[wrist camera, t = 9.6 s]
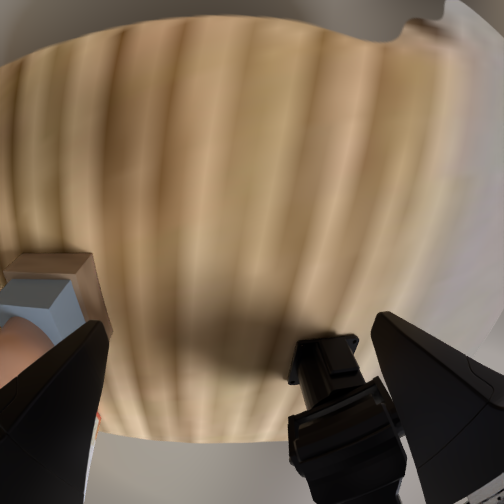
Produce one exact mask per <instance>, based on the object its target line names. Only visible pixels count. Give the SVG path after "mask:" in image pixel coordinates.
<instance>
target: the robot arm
mask: <svg viewBox="0 0 504 504" xmlns="http://www.w3.org/2000/svg"><path fill="white" fill-rule="evenodd" d="M371 339H372V342H373V345H374V348H375V352H376V355H377V358H378V362H379V365H380V368H381V372H382V374H383V377H384V380H385V382H386V385H387V387H388V390H389V392H390V395H391V397H392V399H391V397H390V395H389V394H388V392H387V390H386V388H385V387H384V385H383V383H382V382H381V380H380V378H379V376H377V377H375V378H373V380H371V381H369V382H367V383H366V382H365V380H364V378H363V376H362V374H361V372H360V369H359V368H360V367H359V365H358V363H357V361H356V359H355V357H354V352H355V350H356V348H357V345H358V343H359V338H358V337H357V336H346V337H336V338H325V339H313V340H301V341H298V342H297V344H296V347H295V351H294V356H293V360H292V364H291V368H290V372H289V376H288V380H287V381H288V384H289V385H298V384H300V387H301V390H302V394H303V398H304V401H305V405H306V408H307V411H304V412H302V413H299V414H297V415H291V416H289V417H288V441H289V462H290V464H291V465H293V466H295V468H296V470H297V472H298V473H299V474H300V475H301V476H302V477H305V478H306V480H307V482H308V485H309V488H310V492H311V495H312V498H313V501H314V502H315V503H317V504H402V502H401V499H400V496H399V494H398V492H399V489H400V486H401V482H402V478H403V477H404V475H405V470H406V465H407V464H406V462H407V455H406V453H405V450H404V449H403V446H402V443H401V441H400V438H401V437H403V436H406V438H407V441H408V444H409V447H410V450H411V453H412V457H413V459H414V463H415V466H416V469H417V473H418V476H419V480H420V483H421V487H422V490H423V494H424V497H425V501H426V504H454V503H455V502H457V501H459V500H461V499H463V498H465V497H467V498H468V501H467V502H465V503H464V504H504V375H502V374H499V373H498V372H496V371H494V370H492V369H490V368H488V367H486V366H484V365H482V364H481V363H478V362H477V361H475V360H473V359H472V358H470V357H468V356H466V355H465V354H463V353H461V352H460V351H458V350H456V349H454V348H453V347H451V346H449V345H448V344H446V343H444V342H442V341H441V340H439V339H437V338H435V337H434V336H432V335H430V334H428V333H427V332H425V331H423V330H421V329H420V328H418V327H416V326H414V325H413V324H411V323H409V322H407V321H406V320H404V319H402V318H400V317H398V316H397V315H395V314H393V313H391V312H389V311H385V312H379V313H378V314H377V315H376V318H375V321H374V324H373V326H372V329H371ZM301 345H302V346H301ZM108 350H109V339H108V336H107V333H106V330H105V327H104V324H103V322H102V321H100V320H89V321H87V322H86V323H84V324H83V325H82V326H80V327H79V328H78V329H76V330H75V331H74V332H72V333H71V334H70V335H68V336H67V337H66V338H64V339H63V340H62V341H60V342H59V343H58V344H57V345H55V346H54V347H53V348H51V349H50V350H49V351H47V352H46V353H45V354H44V355H42V356H41V357H40V358H38V359H37V360H36V361H35V362H33V363H32V364H31V365H30V366H28V367H27V368H26V369H25V370H23V371H22V372H21V373H20V374H18V377H17V376H16V377H15V378H13V379H12V380H11V381H10V382H8V383H7V384H6V385H5V386H3V387H2V388H1V389H0V504H83V503H84V490H85V481H86V473H87V465H88V459H89V452H90V446H91V440H92V435H93V429H94V424H95V419H96V415H97V410H98V406H99V401H100V397H101V393H102V388H103V383H104V376H105V369H106V362H107V356H108ZM392 400H393V401H392Z"/></svg>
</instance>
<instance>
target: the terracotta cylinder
mask: <svg viewBox="0 0 504 504" xmlns="http://www.w3.org/2000/svg"><path fill="white" fill-rule="evenodd" d="M53 347H54V344H53V343H52V341H51V340H50V338H49V337H48V336H47V335H46V334H45V333H44V332H43V331H42V330H41V329H40V328H39V327H38V326H36V325H35V324H34V323H32V322H31V321H29V320H27V319H25V318H22V317H17V316H14V317H11V318H9V319H8V321H7V322H6V323H5V324H4V326H3V327H2V328H1V330H0V389H1V388H2V387H3V386H5V385H6V384H7V383H8V382H10V381H11V380H12V379H13V378H15V377H16V376H17V377H18V374H20V373H21V372H22V371H23V370H25V369H26V368H27V367H28V366H30V365H31V364H32V363H33V362H35V361H36V360H37V359H38V358H40V357H41V356H42V355H44V354H45V353H46V352H47V351H49V350H50V349H51V348H53Z"/></svg>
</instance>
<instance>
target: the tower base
mask: <svg viewBox="0 0 504 504" xmlns="http://www.w3.org/2000/svg"><path fill="white" fill-rule="evenodd" d="M3 273H4V276H5V279H6V282H7V284H8V283H9V281H10V280H11V279H50V280H71V282H72V286H73V289H74V292H75V295H76V298H77V300H78V303H79V306H80V309H81V312H82V314H83V317H84V320H85V322H87V321H89V320H100V321H102V322H103V324H104V327H105V330H106V333H107V336H108V339H109V340H110V338H111V335H112V333H113V330H112V326H111V323H110V320H109V317H108V313H107V310H106V307H105V303H104V299H103V296H102V292H101V288H100V284H99V280H98V276H97V272H96V267H95V263H94V258H93V254H92V253H22V254H21V255H20V256H18V257H17V258H16V259H15V260H14V261H13V262H12V263H11V264H10V265H9V266H8V267H7V268H6V269H5V270H3Z"/></svg>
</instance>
